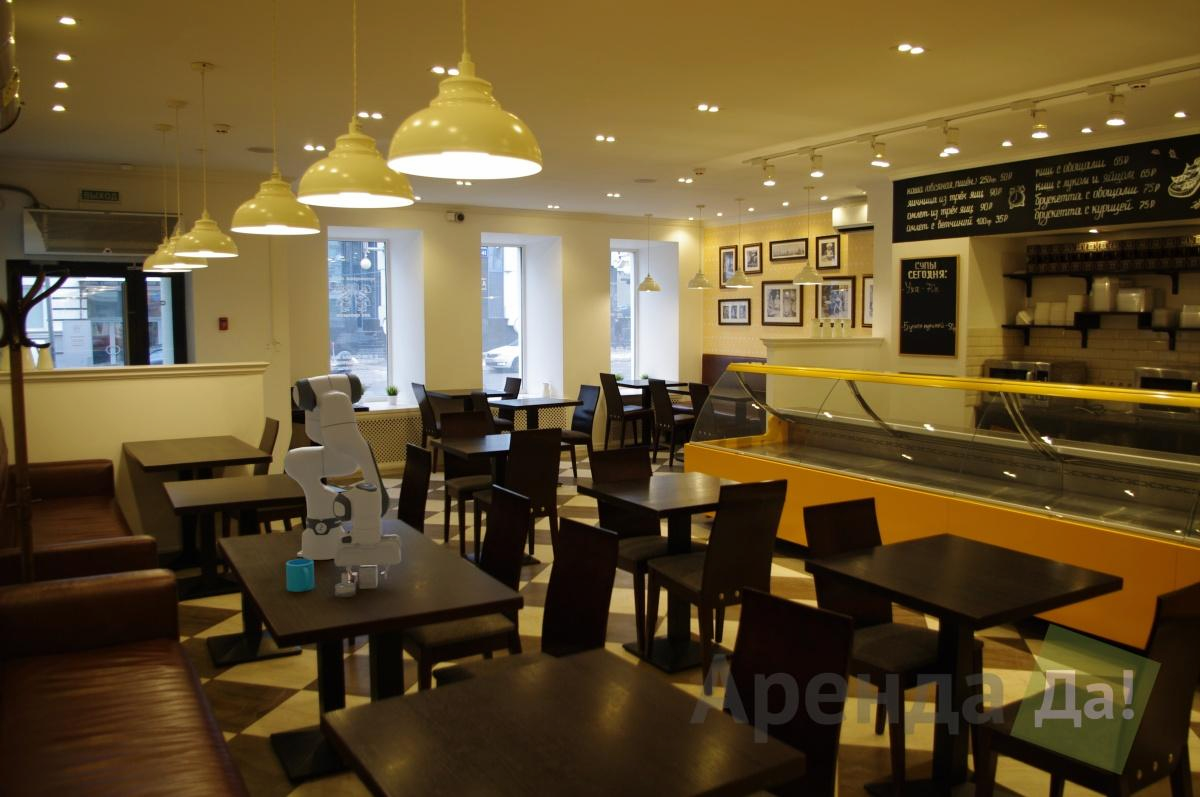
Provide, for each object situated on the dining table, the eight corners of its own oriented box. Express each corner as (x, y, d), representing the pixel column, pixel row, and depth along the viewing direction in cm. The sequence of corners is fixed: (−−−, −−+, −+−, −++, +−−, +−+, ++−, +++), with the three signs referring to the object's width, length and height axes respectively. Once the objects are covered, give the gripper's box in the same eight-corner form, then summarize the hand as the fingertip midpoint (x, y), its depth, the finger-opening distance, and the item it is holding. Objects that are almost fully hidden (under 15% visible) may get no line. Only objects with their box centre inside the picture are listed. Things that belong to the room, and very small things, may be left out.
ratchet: (342, 580, 287) (342, 560, 287) (362, 580, 288) (361, 560, 287) (333, 598, 269) (333, 577, 268) (354, 597, 270) (353, 576, 269)
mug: (283, 586, 280) (282, 561, 279) (309, 582, 285) (308, 557, 284) (295, 596, 270) (294, 570, 270) (322, 591, 275) (321, 565, 274)
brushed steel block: (361, 584, 283) (361, 563, 282) (377, 583, 284) (377, 563, 283) (359, 588, 278) (359, 568, 278) (376, 588, 279) (375, 567, 278)
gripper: (402, 532, 284) (403, 574, 285) (336, 534, 281) (337, 577, 282) (400, 536, 278) (401, 580, 279) (332, 538, 275) (333, 582, 276)
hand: (368, 578), depth 280 cm, fingers open, 8 cm apart
